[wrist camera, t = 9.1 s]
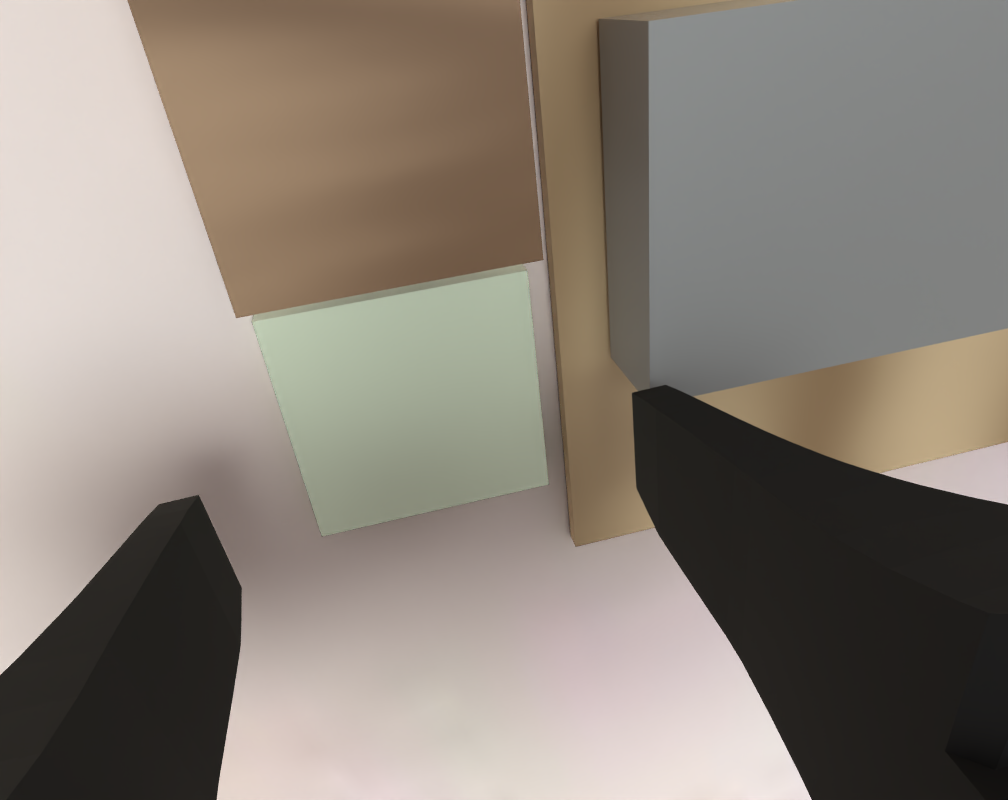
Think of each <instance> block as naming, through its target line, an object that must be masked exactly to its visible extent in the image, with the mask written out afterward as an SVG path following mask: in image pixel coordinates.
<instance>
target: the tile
mask: <svg viewBox="0 0 1008 800" xmlns="http://www.w3.org/2000/svg"><path fill="white" fill-rule="evenodd" d="M599 44H600V72H601V100H602V128H603V156H604V184H605V212H606V241H607V269H608V297H609V325H610V353H611V358H612V360H613V361H614V362H615V363H616V364H617V366H618V367H619V368H620V369H621V371H622V372H623V373H624V374H625V376H626V377H627V378H628V379H629V381H630V382H631V383H632V384H633V386H634V387H635V388H636V389H637V391H641V390H645V389H650V388H654V387H658V386H662V385H668V386H670V387H673V388H675V389H677V390H680V391H682V392H684V393H686V394H688V395H690V396H692V397H693V396H698V395H702V394H707V393H712V392H716V391H721V390H725V389H730V388H735V387H739V386H744V385H748V384H753V383H758V382H762V381H767V380H772V379H776V378H781V377H785V376H790V375H795V374H799V373H804V372H809V371H813V370H818V369H822V368H827V367H832V366H836V365H841V364H845V363H850V362H855V361H859V360H864V359H869V358H873V357H878V356H882V355H887V354H892V353H896V352H901V351H905V350H910V349H915V348H919V347H924V346H929V345H933V344H938V343H942V342H947V341H952V340H956V339H961V338H966V337H970V336H975V335H979V334H984V333H989V332H993V331H998V330H1002V329H1007V328H1008V0H731V1H723V2H716V3H709V4H702V5H694V6H687V7H680V8H673V9H665V10H658V11H651V12H644V13H636V14H629V15H622V16H615V17H607V18H600V19H599Z"/></svg>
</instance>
